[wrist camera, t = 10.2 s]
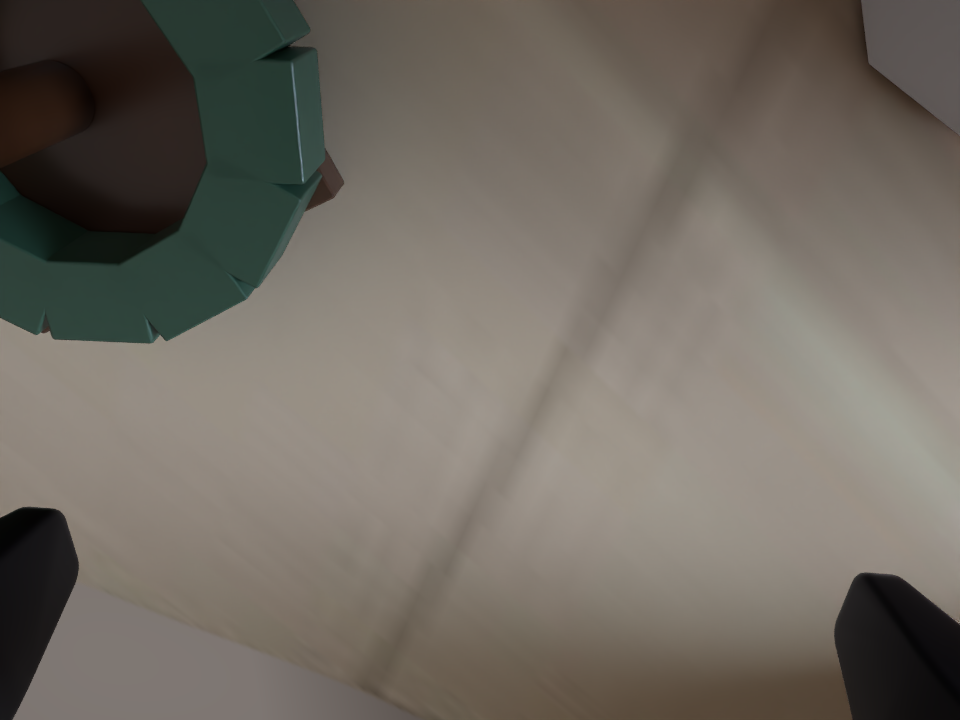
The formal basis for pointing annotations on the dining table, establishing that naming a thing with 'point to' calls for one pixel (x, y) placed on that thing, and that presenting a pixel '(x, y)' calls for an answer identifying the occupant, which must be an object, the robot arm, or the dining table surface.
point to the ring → (215, 202)
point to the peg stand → (102, 116)
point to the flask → (918, 51)
